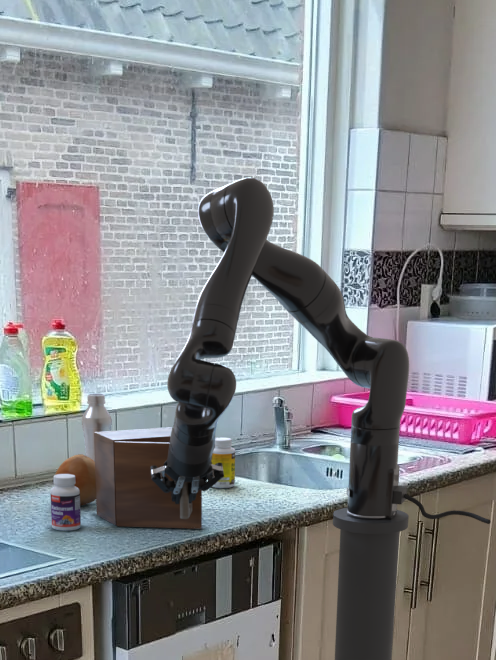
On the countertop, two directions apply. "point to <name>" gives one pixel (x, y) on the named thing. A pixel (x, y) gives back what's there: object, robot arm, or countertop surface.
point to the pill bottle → (65, 503)
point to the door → (150, 490)
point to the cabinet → (106, 464)
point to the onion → (81, 476)
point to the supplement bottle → (224, 461)
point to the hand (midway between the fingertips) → (182, 499)
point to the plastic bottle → (95, 421)
